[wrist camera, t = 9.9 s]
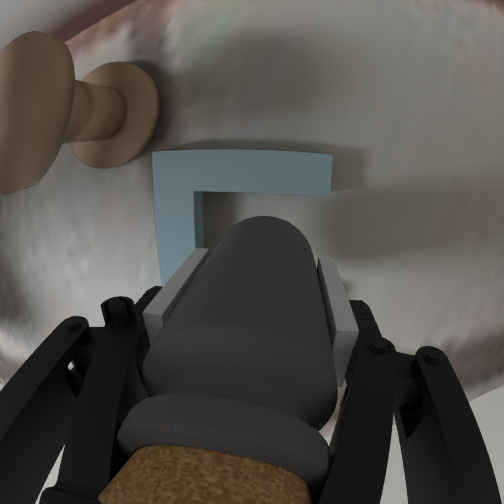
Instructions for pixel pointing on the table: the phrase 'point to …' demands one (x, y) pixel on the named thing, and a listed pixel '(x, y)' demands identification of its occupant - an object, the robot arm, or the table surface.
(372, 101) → the table surface
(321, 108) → the table surface
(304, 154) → the bracket
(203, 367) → the bottle
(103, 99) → the wooden spool
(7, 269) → the table surface
